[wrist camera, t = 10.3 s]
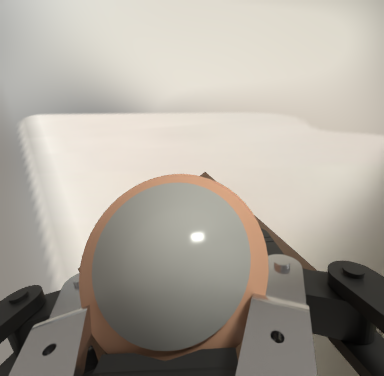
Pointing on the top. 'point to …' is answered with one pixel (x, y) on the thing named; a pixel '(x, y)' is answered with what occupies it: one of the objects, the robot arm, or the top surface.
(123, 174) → the top surface
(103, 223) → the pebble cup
